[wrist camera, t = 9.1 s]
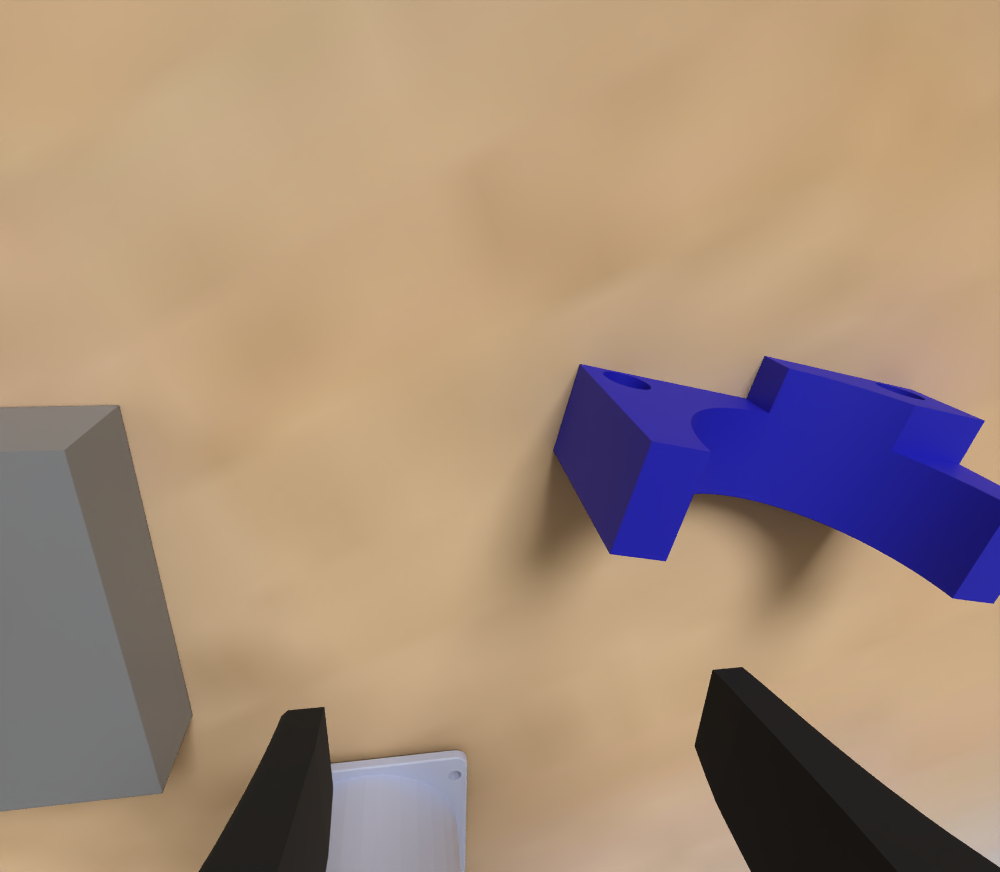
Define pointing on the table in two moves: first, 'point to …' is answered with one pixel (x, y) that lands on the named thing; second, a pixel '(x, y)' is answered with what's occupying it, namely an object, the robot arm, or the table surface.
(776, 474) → the cable clip
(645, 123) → the table surface
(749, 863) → the robot arm
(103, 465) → the socket block
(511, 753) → the table surface
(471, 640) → the table surface
